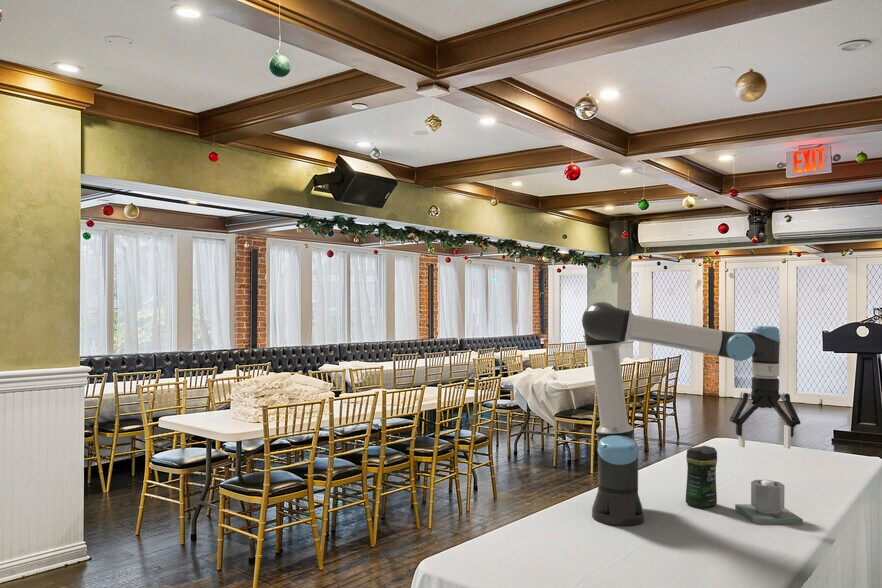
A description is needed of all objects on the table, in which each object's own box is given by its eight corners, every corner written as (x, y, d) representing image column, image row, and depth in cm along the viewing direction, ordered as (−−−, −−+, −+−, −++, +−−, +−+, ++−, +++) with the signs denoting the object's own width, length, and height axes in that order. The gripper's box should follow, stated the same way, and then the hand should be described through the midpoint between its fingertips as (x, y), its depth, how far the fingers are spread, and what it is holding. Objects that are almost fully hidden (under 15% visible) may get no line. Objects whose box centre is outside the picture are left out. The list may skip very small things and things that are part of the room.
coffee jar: (703, 510, 211) (703, 450, 211) (681, 504, 218) (681, 446, 218) (721, 505, 217) (721, 447, 217) (699, 499, 223) (699, 442, 223)
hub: (759, 510, 202) (759, 487, 202) (747, 502, 210) (747, 479, 210) (788, 511, 201) (788, 487, 201) (775, 502, 210) (775, 479, 210)
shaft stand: (754, 523, 199) (754, 487, 199) (735, 508, 213) (735, 475, 213) (802, 524, 198) (802, 488, 198) (780, 509, 212) (780, 476, 212)
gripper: (728, 377, 203) (727, 448, 203) (813, 379, 202) (812, 450, 202) (719, 374, 210) (718, 443, 210) (800, 376, 209) (799, 445, 209)
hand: (764, 447), depth 206 cm, fingers open, 13 cm apart
